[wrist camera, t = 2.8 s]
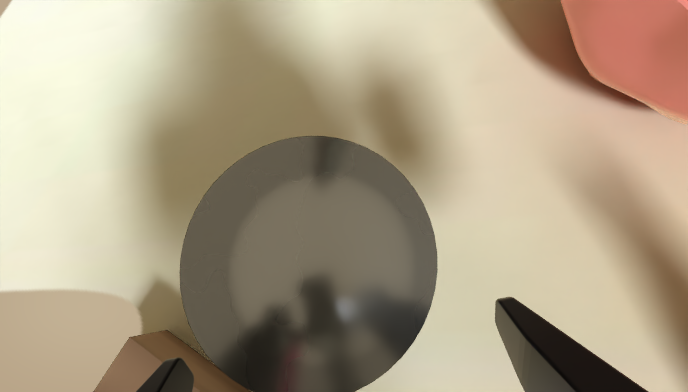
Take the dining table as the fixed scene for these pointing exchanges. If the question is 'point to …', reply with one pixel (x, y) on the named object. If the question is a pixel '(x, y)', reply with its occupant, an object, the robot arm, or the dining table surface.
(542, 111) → the dining table surface
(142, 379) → the walnut box
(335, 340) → the tea tin
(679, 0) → the cell model
